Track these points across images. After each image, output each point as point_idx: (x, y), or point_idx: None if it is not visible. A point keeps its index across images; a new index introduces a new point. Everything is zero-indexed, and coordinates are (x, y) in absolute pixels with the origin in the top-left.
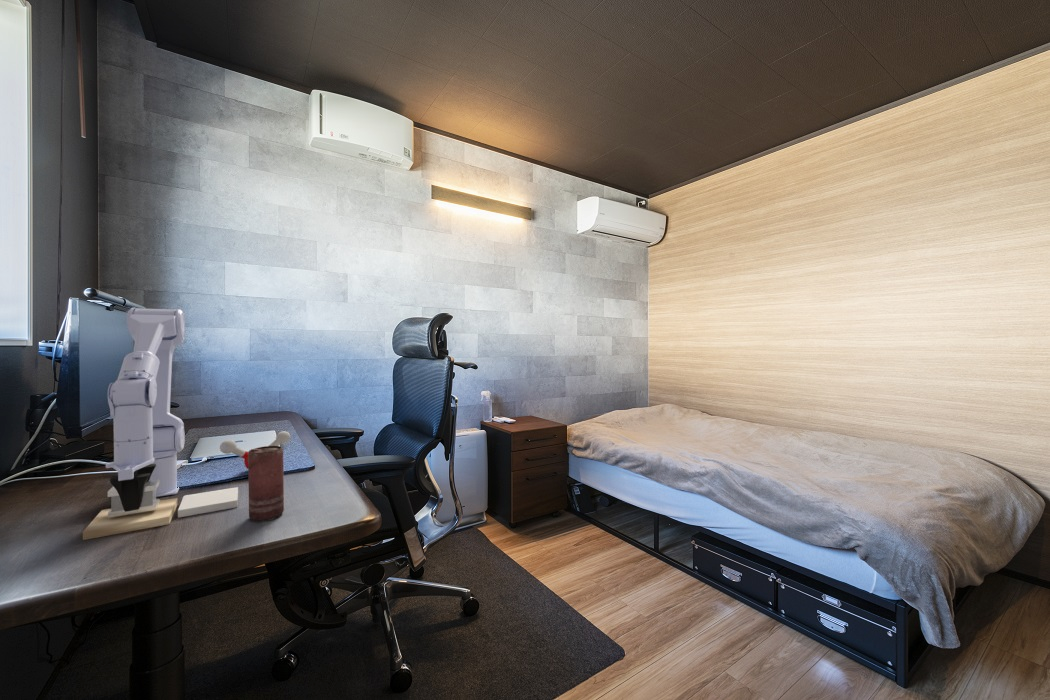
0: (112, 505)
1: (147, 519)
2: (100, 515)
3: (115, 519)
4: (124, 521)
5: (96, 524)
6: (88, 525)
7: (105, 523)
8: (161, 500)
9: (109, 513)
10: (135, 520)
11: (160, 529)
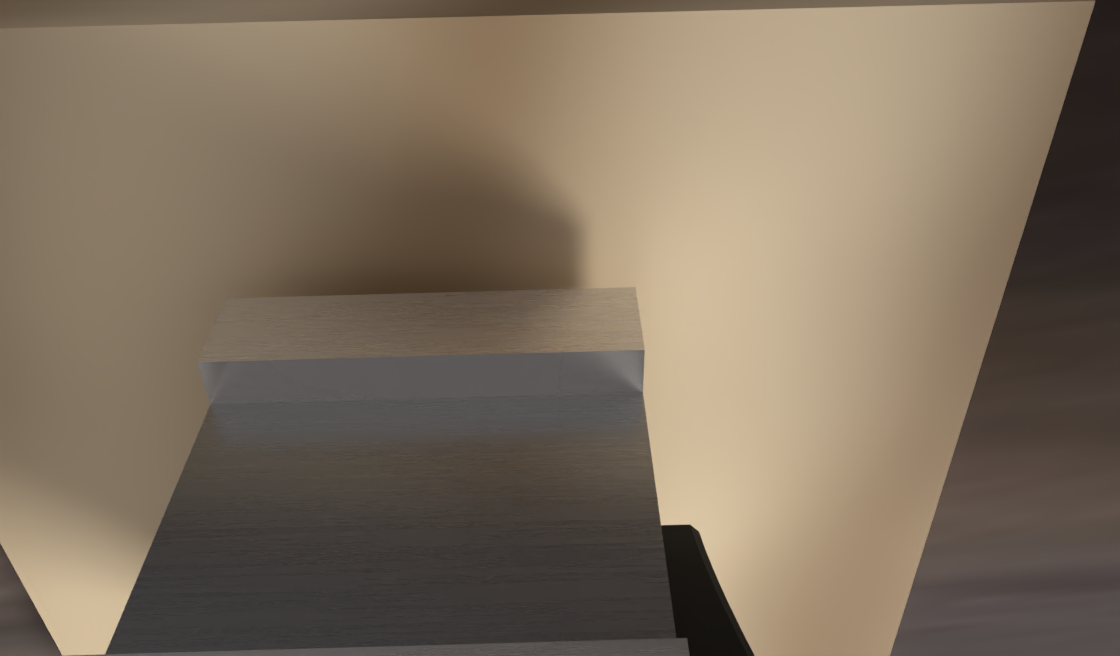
0: (174, 516)
1: (98, 640)
2: (672, 72)
3: None
4: (113, 460)
5: (107, 144)
6: (82, 30)
7: (107, 263)
8: (892, 643)
9: (213, 364)
10: (102, 555)
11: (19, 647)
